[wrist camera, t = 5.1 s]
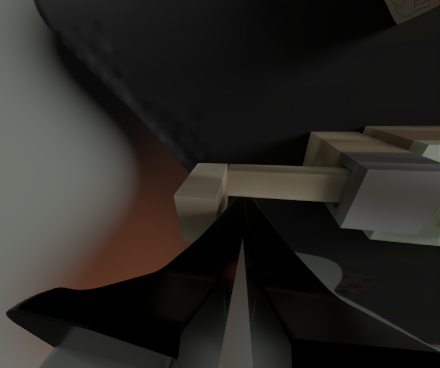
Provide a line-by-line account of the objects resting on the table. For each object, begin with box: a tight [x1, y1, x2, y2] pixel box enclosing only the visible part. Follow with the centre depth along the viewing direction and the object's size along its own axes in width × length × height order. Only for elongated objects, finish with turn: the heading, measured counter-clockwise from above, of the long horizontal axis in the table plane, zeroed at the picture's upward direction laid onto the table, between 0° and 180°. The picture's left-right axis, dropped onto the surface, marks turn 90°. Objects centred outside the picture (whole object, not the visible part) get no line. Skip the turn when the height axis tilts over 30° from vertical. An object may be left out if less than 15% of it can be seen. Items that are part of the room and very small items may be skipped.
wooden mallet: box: [174, 163, 352, 242], centre depth 9 cm, size 3×10×5 cm, turn 92°
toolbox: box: [303, 126, 440, 235], centre depth 12 cm, size 8×14×9 cm, turn 92°
